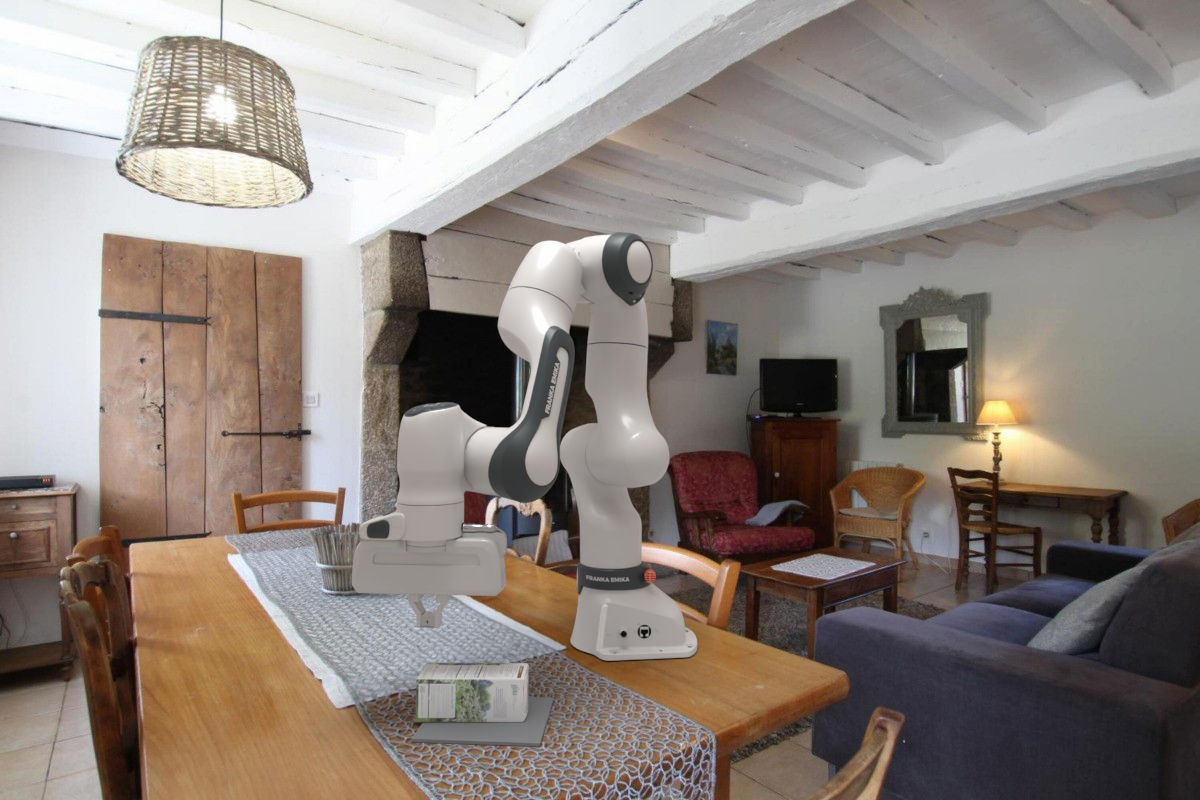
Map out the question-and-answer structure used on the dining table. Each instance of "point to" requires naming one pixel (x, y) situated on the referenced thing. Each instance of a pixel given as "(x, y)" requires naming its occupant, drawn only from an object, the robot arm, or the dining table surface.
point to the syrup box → (472, 692)
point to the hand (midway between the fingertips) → (429, 626)
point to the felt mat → (491, 729)
